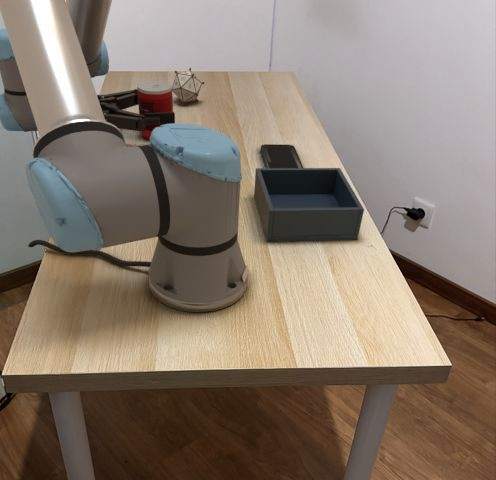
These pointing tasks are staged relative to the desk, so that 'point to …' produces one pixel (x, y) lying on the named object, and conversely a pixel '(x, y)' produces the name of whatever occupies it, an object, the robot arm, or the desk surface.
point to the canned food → (154, 100)
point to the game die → (186, 86)
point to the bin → (306, 204)
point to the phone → (280, 156)
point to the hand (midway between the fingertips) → (171, 108)
